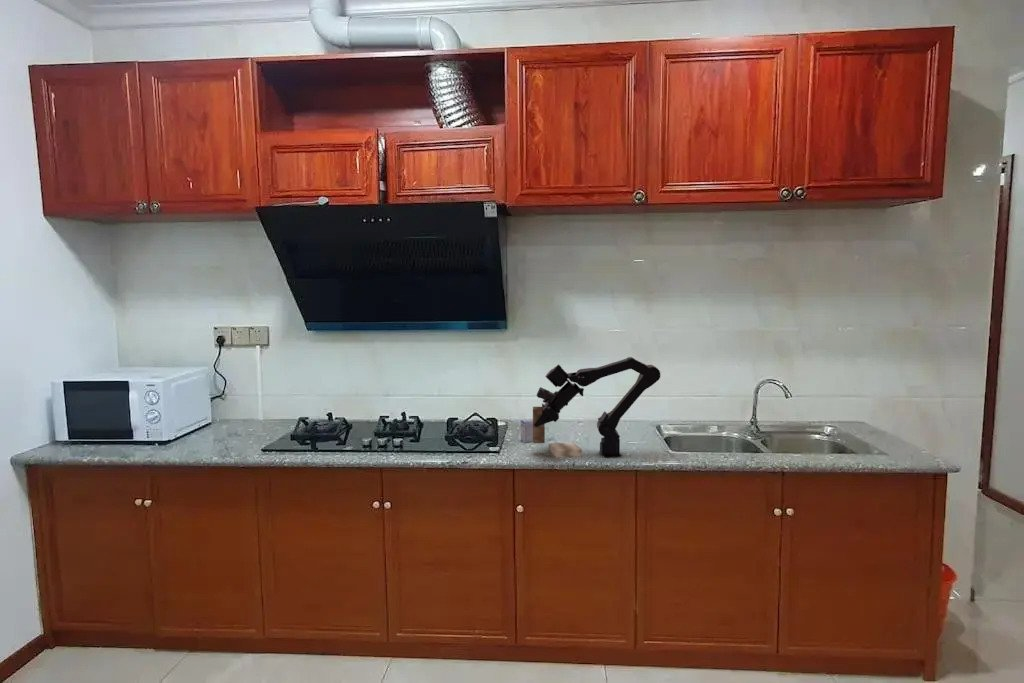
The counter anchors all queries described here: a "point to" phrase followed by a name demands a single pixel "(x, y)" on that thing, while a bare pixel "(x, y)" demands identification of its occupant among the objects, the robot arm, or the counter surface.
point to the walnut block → (539, 430)
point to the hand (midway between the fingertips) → (535, 424)
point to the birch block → (565, 450)
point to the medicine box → (527, 430)
